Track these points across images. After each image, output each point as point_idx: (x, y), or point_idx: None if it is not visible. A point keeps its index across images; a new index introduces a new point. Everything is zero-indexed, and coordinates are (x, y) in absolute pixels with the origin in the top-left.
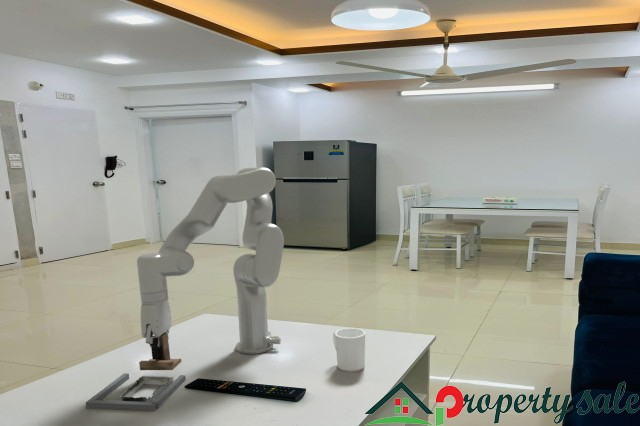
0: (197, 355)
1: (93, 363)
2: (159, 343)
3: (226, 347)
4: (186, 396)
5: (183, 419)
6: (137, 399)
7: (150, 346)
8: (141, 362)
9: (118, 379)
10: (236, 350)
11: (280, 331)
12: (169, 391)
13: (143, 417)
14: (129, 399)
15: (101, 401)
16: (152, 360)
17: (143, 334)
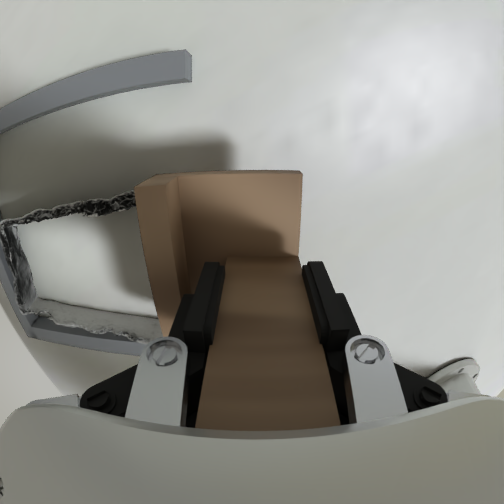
0: (448, 287)
1: None
2: (192, 414)
3: (471, 337)
4: (118, 371)
5: (51, 379)
6: (20, 280)
7: (146, 348)
8: (136, 206)
9: (104, 79)
10: (433, 375)
11: (493, 381)
12: (93, 347)
13: (11, 312)
14: (13, 251)
15: None
16: (273, 207)
17: (7, 450)
